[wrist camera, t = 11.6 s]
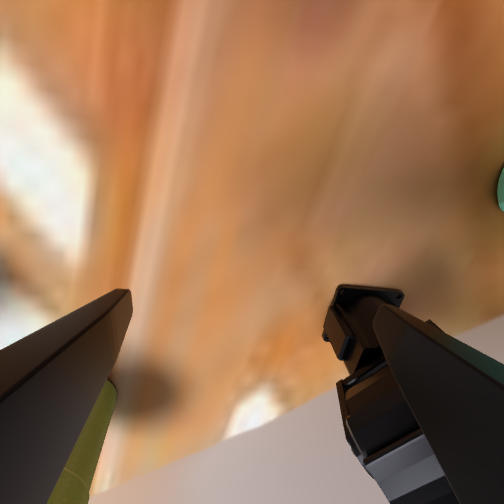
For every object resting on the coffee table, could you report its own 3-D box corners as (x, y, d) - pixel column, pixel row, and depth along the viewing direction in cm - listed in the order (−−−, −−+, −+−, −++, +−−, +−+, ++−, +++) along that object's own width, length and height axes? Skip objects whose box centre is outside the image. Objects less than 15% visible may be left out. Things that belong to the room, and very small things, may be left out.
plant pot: (2, 387, 26) (-152, 544, 16) (72, 332, 24) (-57, 478, 13) (93, 436, 30) (19, 586, 20) (161, 394, 28) (116, 542, 18)
